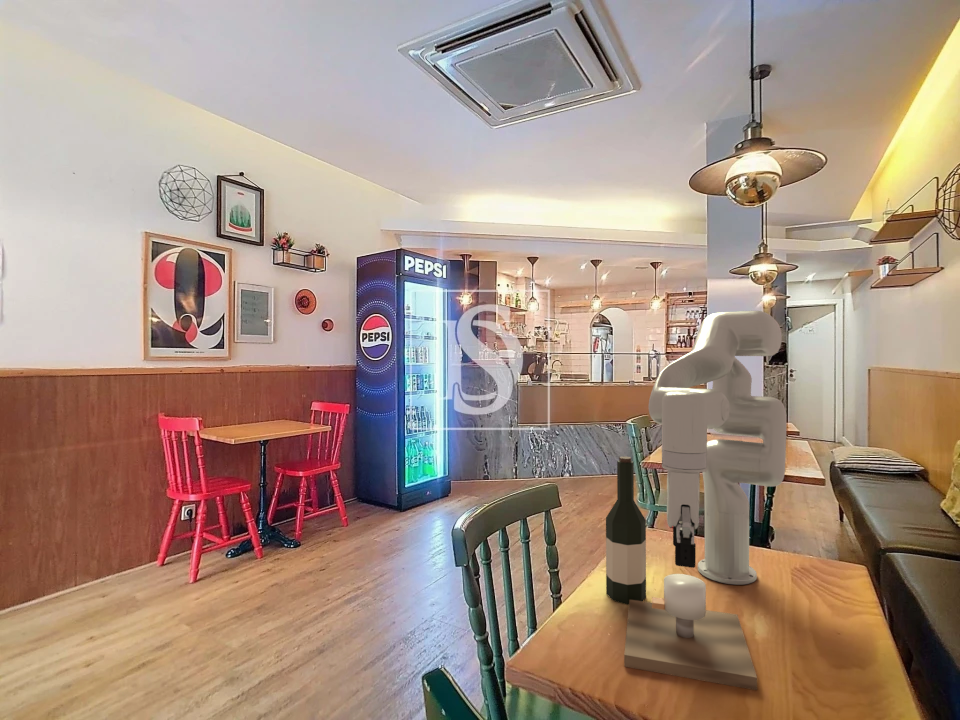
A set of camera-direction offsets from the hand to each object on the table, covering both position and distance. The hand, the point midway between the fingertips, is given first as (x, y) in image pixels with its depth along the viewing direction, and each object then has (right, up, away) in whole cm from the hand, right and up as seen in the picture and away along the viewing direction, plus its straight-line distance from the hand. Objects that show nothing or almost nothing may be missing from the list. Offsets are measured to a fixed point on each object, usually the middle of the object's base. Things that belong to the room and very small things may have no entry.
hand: (683, 555), depth 93 cm
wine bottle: (-5, -16, +19) cm, 26 cm away
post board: (+1, -16, +1) cm, 16 cm away
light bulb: (-1, -10, +1) cm, 10 cm away
